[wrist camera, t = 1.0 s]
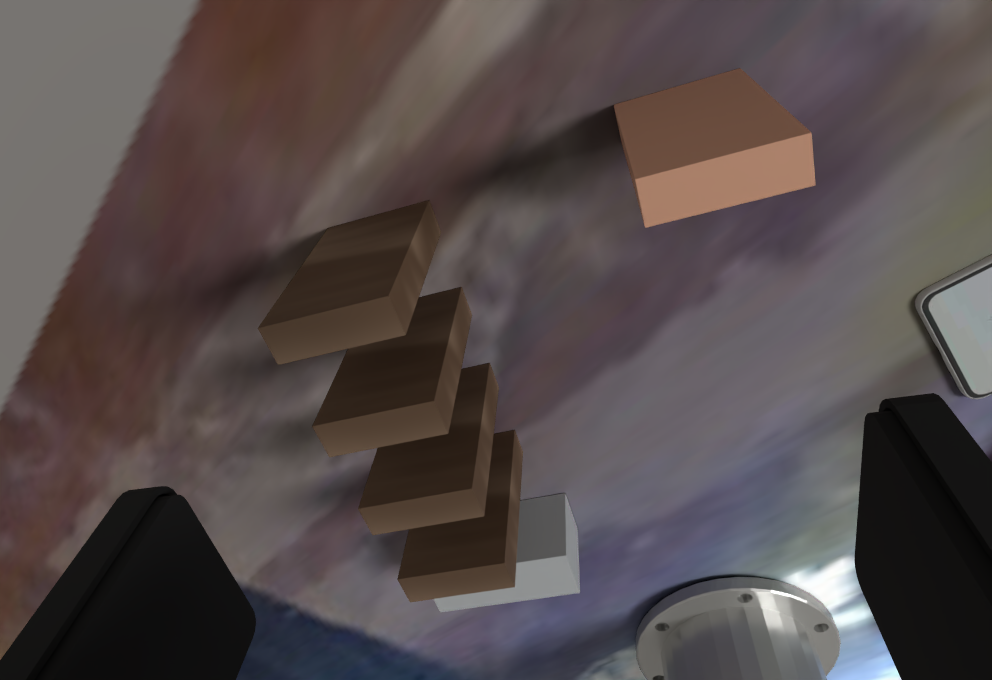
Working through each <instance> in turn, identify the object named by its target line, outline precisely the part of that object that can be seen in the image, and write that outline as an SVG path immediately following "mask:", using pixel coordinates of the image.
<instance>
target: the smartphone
mask: <svg viewBox="0 0 992 680" xmlns="http://www.w3.org/2000/svg"><path fill="white" fill-rule="evenodd" d="M915 307H916V310H917V312H918V314H919V315H920V317H921V319H922V321H923V323H924V325H925V327H926V329H927V330H928V332H929V334H930V336H931V338H932V340H933V342H934V344H935V345H936V346H937V347H938V349H939V351H940V353H941V355H942V356H941V357H942V358H943V360H944V362H945V364H946V366H947V368H948V370H949V371H950V373H951V375H952V377H953V379H954V381H955V383H956V385H957V386H958V388H959V390H960V391H961V392H962V393H963V394H964V395H965V396H967V397H969V398H971V399H981V398H984V397H987V396H989V395H991V394H992V255H990V256H988V257H986V258H984V259H982V260H980V261H978V262H976V263H974V264H972V265H970V266H968V267H966V268H964V269H962V270H960V271H958V272H956V273H954V274H952V275H950V276H948V277H946V278H944V279H942V280H940V281H938V282H936V283H934V284H932V285H930V286H928V287H927V288H925V289H924V290H922V291H921V292H920V293H919V294H918V296H917V297H916V300H915Z"/></svg>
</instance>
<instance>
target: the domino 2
mask: <svg viewBox="0 0 992 680" xmlns="http://www.w3.org/2000/svg"><path fill="white" fill-rule="evenodd" d="M471 318H472V314H471V311H470V308H469V306H468V303H467V300H466V298H465V295H464V292H463V290H462V287H459V288H455V289H451V290H447V291H443V292H439V293H435V294H431V295H427V296H423V297H419V298H418V301H417V304H416V307H415V309H414V312H413V315H412V318H411V321H410V324H409V327H408V330H407V333H406V335H404V336H400V337H396V338H391V339H387V340H383V341H378V342H374V343H370V344H366V345H361V346H357V347H353V348H348V350H347V352H346V354H345V357H344V359H343V361H342V363H341V365H340V367H339V370H338V372H337V374H336V376H335V378H334V380H333V383H332V385H331V387H330V389H329V391H328V393H327V395H326V398H325V400H324V402H323V404H322V406H321V408H320V411H319V413H318V415H317V417H316V419H315V421H314V424H313V426H312V427H313V429H314V431H315V432H316V434H317V436H318V438H319V439H320V441H321V443H322V445H323V447H324V448H325V450H326V452H327V454H328V456H329V457H333V456H338V455H343V454H348V453H353V452H358V451H363V450H368V449H374V448H379V447H384V446H389V445H394V444H399V443H404V442H409V441H414V440H419V439H424V438H429V437H434V436H439V435H444V434H448V432H449V427H450V423H451V418H452V413H453V408H454V403H455V398H456V393H457V388H458V383H459V378H460V373H461V368H462V363H463V358H464V353H465V348H466V343H467V338H468V333H469V328H470V323H471Z"/></svg>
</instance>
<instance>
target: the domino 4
mask: <svg viewBox="0 0 992 680" xmlns="http://www.w3.org/2000/svg"><path fill="white" fill-rule="evenodd" d="M522 458H523V451H522V448H521V446H520V443H519V440H518V437H517V435H516V432H515V430H512V431H506V432H501V433H496V434H494V435H493V444H492V452H491V461H490V470H489V479H488V487H487V496H486V505H485V514H484V517H478V518H472V519H466V520H460V521H454V522H448V523H442V524H436V525H430V526H425V527H419V528H413V529H409V532H408V536H407V541H406V545H405V549H404V553H403V558H402V562H401V566H400V571H399V575H398V579H397V580H398V581H399V583H400V585H401V587H402V589H403V590H404V592H405V594H406V596H407V598H408V599H409V601H410V602H416V601H423V600H430V599H437V598H443V597H450V596H457V595H464V594H471V593H478V592H485V591H492V590H499V589H506V588H513V587H515V577H516V560H517V543H518V526H519V509H520V492H521V475H522Z"/></svg>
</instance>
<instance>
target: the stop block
mask: <svg viewBox="0 0 992 680" xmlns="http://www.w3.org/2000/svg"><path fill="white" fill-rule="evenodd" d="M575 593H580V581H579V554H578V529H577V526H576V523H575V520H574V517H573V514H572V512H571V509H570V506H569V503H568V500H567V497H566V494H565V493H562V494H557V495H551V496H545V497H539V498H533V499H528V500H522V501H520V509H519V526H518V543H517V560H516V577H515V587H513V588H506V589H499V590H492V591H485V592H478V593H471V594H464V595H457V596H450V597H443V598H437V599H434V601H435V603H436V605H437V607H438V608H439V610H440V612H446V611H453V610H460V609H468V608H475V607H482V606H489V605H496V604H503V603H510V602H518V601H525V600H532V599H539V598H546V597H553V596H560V595H568V594H575Z"/></svg>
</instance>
